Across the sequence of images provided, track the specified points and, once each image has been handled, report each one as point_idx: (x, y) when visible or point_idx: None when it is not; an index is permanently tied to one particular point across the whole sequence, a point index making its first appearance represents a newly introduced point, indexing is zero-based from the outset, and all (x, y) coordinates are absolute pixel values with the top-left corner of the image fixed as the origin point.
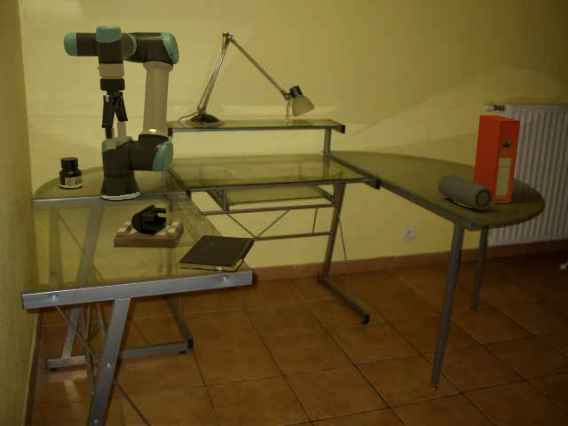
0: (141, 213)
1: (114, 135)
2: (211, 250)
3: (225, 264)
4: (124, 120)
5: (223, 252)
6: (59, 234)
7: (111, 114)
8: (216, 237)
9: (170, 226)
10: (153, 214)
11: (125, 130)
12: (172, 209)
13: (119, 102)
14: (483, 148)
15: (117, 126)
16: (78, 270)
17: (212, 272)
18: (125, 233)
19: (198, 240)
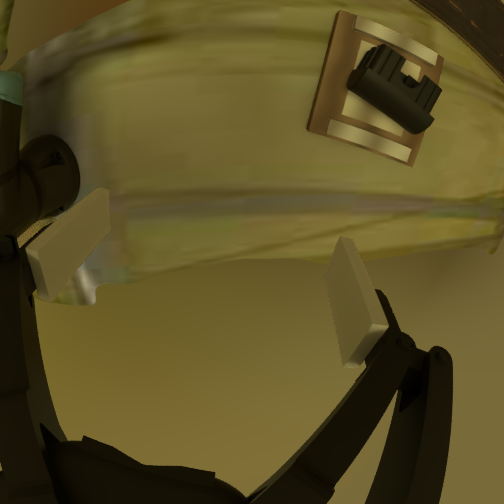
0: (426, 113)
1: (362, 284)
2: (483, 22)
3: None
4: (21, 259)
5: (490, 12)
6: (302, 258)
7: (429, 426)
8: None
9: (361, 40)
10: (437, 87)
11: (73, 218)
12: (149, 37)
13: (55, 479)
14: None
15: (67, 280)
16: (473, 219)
17: None
18: (397, 142)
19: (439, 17)
